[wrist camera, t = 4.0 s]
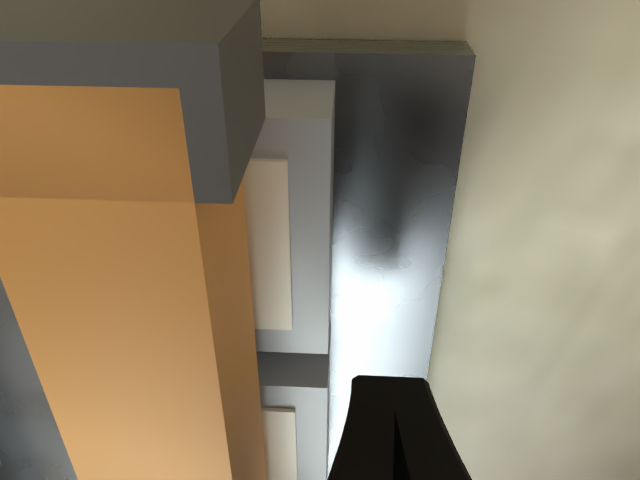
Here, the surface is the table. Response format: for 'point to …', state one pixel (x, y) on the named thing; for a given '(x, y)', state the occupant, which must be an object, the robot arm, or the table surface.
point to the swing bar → (135, 228)
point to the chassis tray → (348, 228)
